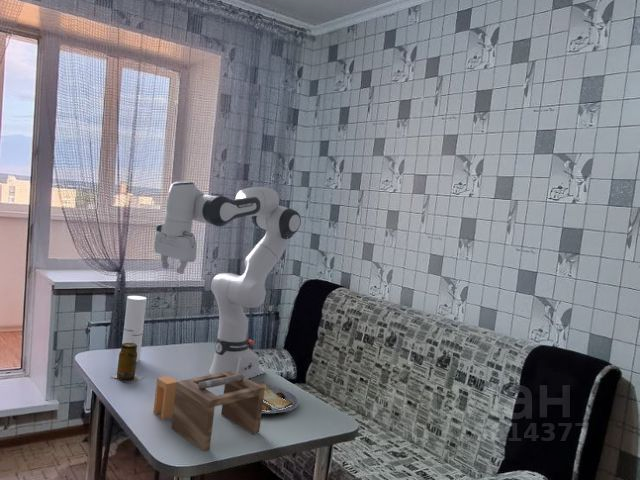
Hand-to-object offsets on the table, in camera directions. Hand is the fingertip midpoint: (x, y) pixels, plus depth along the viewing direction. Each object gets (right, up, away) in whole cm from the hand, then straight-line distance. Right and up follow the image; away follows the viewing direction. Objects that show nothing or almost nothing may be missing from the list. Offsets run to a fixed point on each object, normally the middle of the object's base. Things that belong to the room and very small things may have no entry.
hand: (172, 271), depth 166 cm
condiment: (-20, -39, +13) cm, 46 cm away
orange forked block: (+1, -43, -13) cm, 45 cm away
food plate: (+29, -46, +7) cm, 55 cm away
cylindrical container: (-26, -37, +32) cm, 55 cm away
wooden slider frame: (+18, -46, -19) cm, 53 cm away
